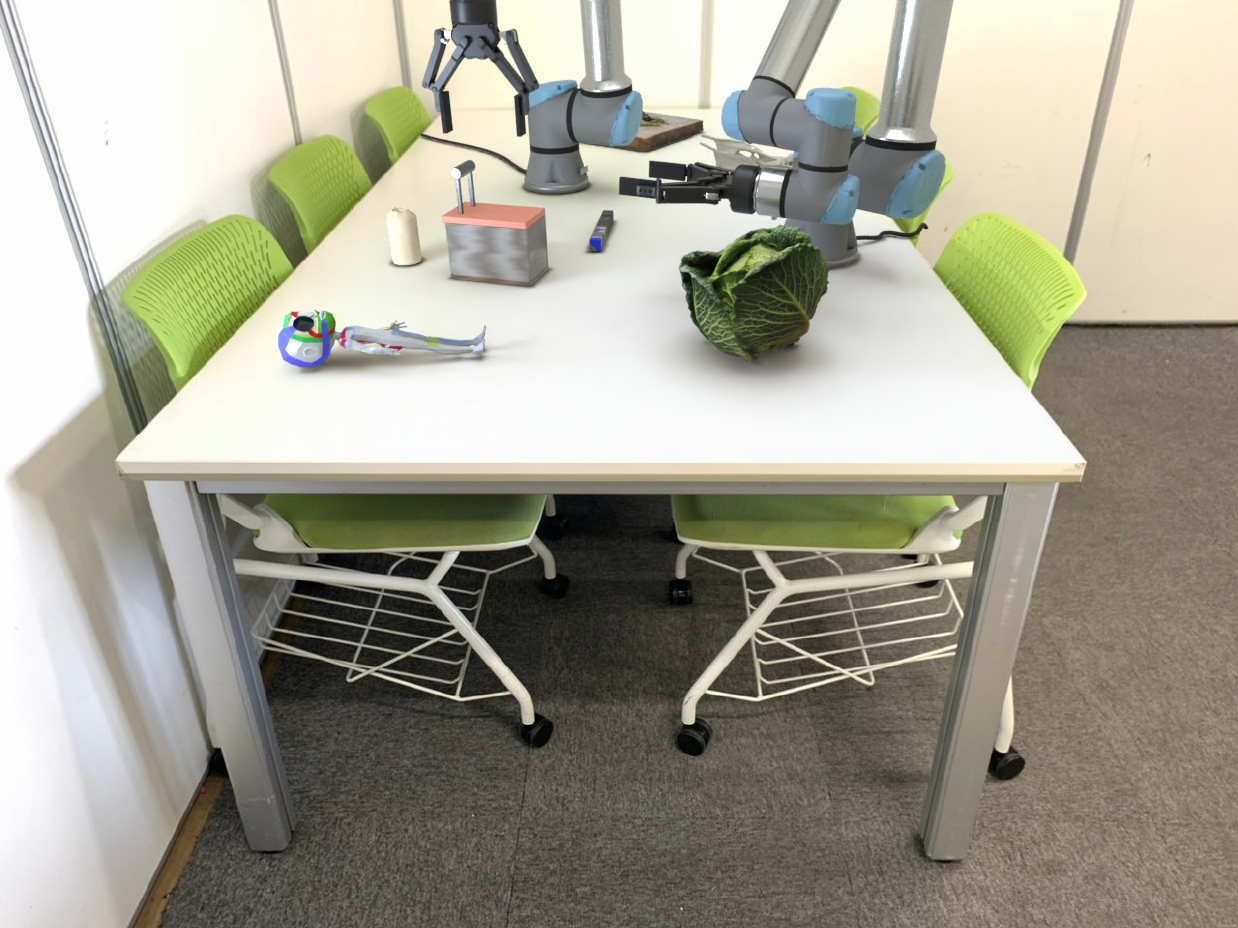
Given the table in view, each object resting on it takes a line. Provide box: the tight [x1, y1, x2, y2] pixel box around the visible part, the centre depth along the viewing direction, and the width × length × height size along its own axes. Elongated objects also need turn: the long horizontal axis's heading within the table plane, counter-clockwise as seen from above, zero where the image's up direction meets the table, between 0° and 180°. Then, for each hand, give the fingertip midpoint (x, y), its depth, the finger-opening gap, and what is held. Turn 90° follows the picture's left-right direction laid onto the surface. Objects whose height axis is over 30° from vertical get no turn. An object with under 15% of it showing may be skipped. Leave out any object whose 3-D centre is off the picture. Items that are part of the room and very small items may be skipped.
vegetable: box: [678, 224, 830, 364], centre depth 132 cm, size 20×19×20 cm
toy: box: [276, 309, 487, 369], centre depth 134 cm, size 10×8×30 cm
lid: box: [441, 159, 546, 229], centre depth 157 cm, size 16×9×9 cm, turn 72°
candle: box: [385, 207, 423, 266], centre depth 169 cm, size 6×6×10 cm
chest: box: [444, 214, 550, 288], centre depth 162 cm, size 16×9×10 cm, turn 72°
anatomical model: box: [699, 133, 794, 171], centre depth 218 cm, size 15×9×25 cm
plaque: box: [597, 110, 705, 152], centre depth 257 cm, size 30×7×30 cm
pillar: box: [588, 209, 615, 252], centre depth 182 cm, size 2×2×20 cm
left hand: (484, 133), depth 156 cm, fingers open, 13 cm apart
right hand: (635, 177), depth 150 cm, fingers open, 13 cm apart
